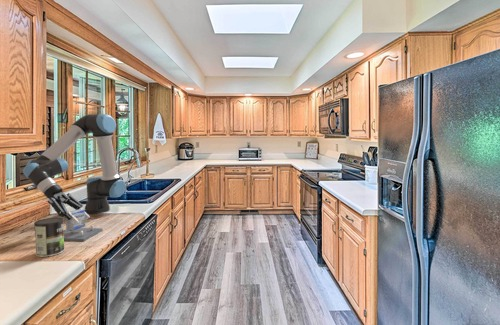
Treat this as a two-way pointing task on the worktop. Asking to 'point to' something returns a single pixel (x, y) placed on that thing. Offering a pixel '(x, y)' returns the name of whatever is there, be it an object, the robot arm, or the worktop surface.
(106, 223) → the worktop surface
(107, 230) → the worktop surface
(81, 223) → the medicine box
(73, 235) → the pin tray
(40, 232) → the coffee can
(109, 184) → the robot arm
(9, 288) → the worktop surface
